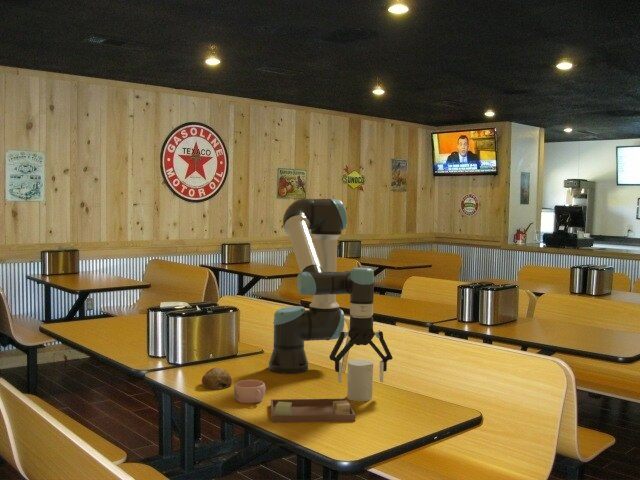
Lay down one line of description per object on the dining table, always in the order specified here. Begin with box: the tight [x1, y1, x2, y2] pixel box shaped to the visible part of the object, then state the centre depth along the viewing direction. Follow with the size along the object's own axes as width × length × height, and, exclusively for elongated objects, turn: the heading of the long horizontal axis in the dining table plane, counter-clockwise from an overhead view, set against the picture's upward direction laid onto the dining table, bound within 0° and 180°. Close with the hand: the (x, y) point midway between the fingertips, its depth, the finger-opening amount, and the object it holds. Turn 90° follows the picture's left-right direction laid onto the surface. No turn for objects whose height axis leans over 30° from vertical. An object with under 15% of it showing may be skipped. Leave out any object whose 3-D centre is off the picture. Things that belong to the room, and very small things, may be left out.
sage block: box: [275, 402, 292, 415], centre depth 194 cm, size 4×4×4 cm
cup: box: [346, 359, 374, 402], centre depth 215 cm, size 8×8×12 cm
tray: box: [270, 398, 356, 423], centre depth 199 cm, size 16×24×2 cm, turn 96°
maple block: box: [333, 400, 351, 414], centre depth 196 cm, size 4×4×4 cm
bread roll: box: [201, 367, 233, 390], centre depth 229 cm, size 10×10×8 cm
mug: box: [233, 379, 267, 405], centre depth 210 cm, size 12×10×6 cm
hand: (360, 381), depth 215 cm, fingers open, 13 cm apart
